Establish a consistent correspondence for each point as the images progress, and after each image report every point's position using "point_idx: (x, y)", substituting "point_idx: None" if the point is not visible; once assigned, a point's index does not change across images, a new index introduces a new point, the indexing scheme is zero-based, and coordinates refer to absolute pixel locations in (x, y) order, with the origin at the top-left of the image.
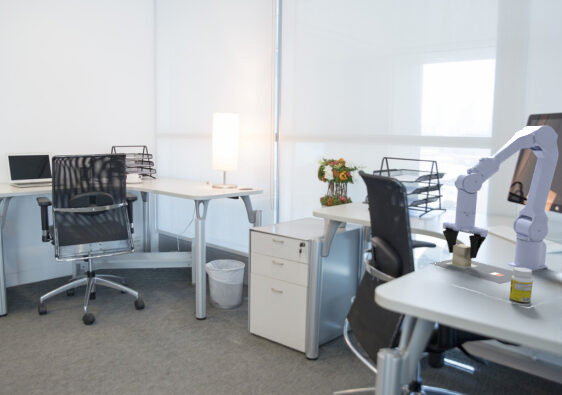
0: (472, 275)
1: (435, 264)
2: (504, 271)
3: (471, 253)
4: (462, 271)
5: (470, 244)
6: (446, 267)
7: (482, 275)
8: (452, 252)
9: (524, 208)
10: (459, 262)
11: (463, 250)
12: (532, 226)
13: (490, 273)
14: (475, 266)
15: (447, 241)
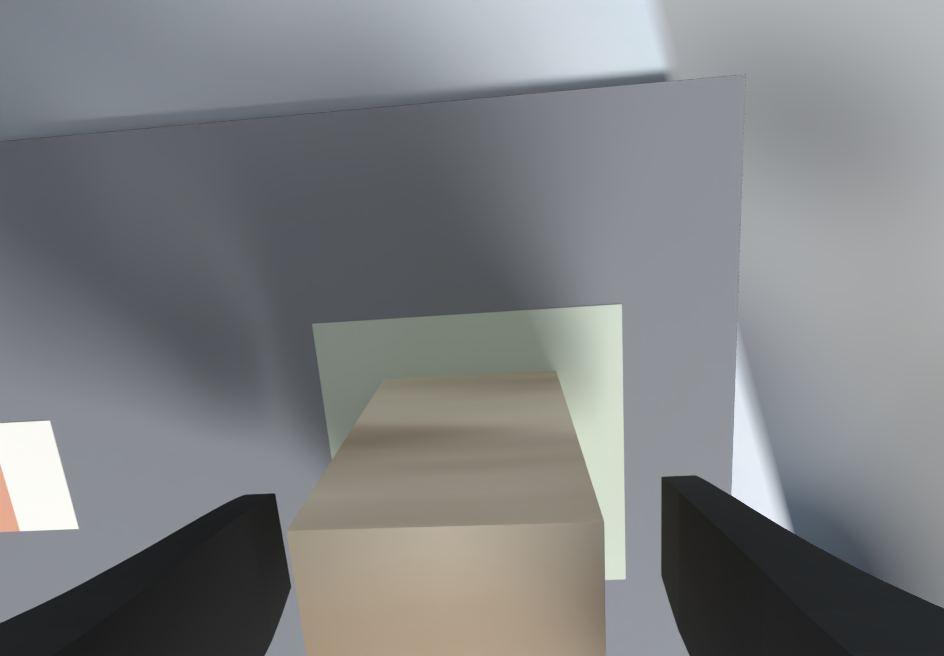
0: (34, 149)
1: (658, 124)
2: None
3: (200, 525)
4: (226, 188)
5: (76, 637)
6: (464, 145)
7: (3, 274)
8: (662, 524)
9: None
10: (436, 393)
11: (328, 494)
12: None
13: (49, 439)
14: None
15: (852, 578)
